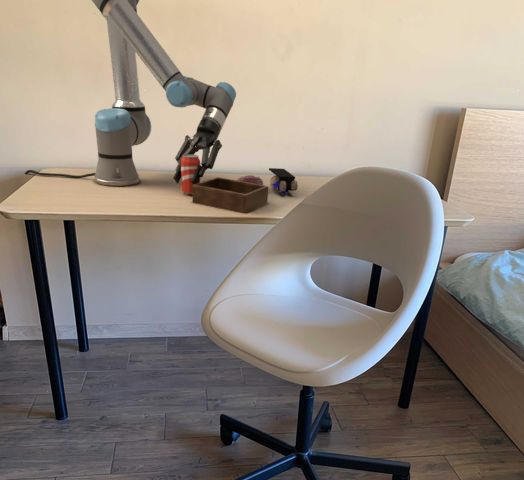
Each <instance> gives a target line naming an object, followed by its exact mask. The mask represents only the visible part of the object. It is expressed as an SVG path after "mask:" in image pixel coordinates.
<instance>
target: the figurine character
mask: <svg viewBox="0 0 524 480" xmlns="http://www.w3.org/2000/svg"><path fill="white" fill-rule="evenodd" d="M268 171H270V172H271V174H274V175H273V176H272V177H271V178H270V179H269V180H270V181H269V185H270V186H271V187H272V189H274V190H276V191H279V194H280V195H281V196H282V197H284V196H285V194H287V195H288V196H289V197H292V193H290V192H295V191H298V188H299V187H298V186H299V183H298V181H297V180H296V176H295V175H293V174H292V173H290V172H289V171H288V170H286V168H277V167H275V168H274V167H273V168H272V167H269V168H268Z"/></svg>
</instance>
